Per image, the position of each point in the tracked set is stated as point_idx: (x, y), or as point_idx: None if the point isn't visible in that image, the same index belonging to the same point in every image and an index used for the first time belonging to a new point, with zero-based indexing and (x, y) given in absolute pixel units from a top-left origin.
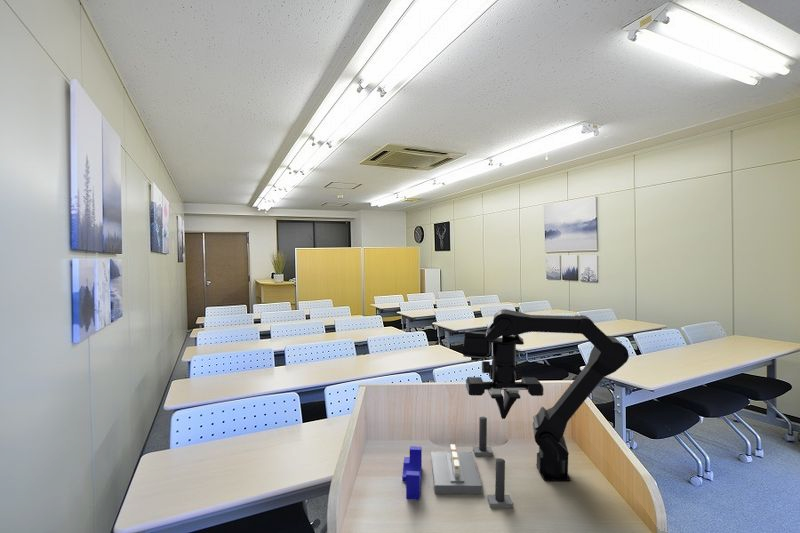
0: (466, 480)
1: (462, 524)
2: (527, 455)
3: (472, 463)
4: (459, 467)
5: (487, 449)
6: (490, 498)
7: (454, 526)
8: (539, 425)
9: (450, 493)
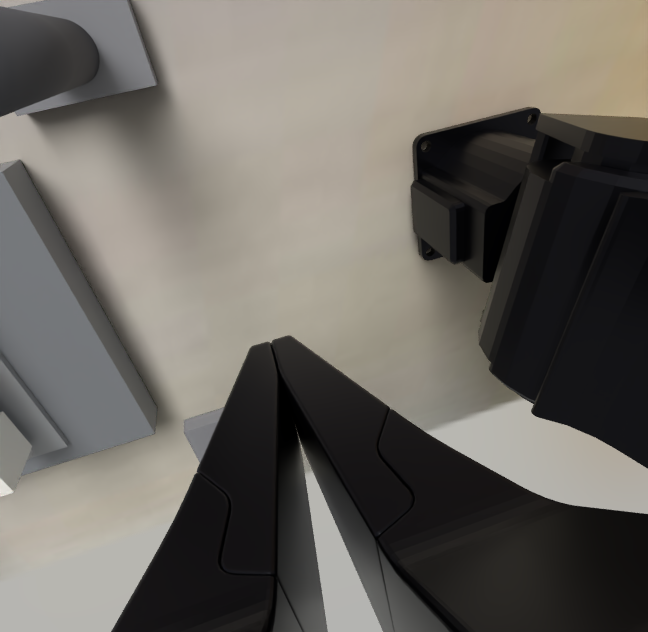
0: (74, 428)
1: (125, 531)
2: (386, 20)
3: (57, 301)
4: (17, 483)
5: (105, 45)
6: (199, 445)
7: (103, 544)
8: (587, 432)
9: None
